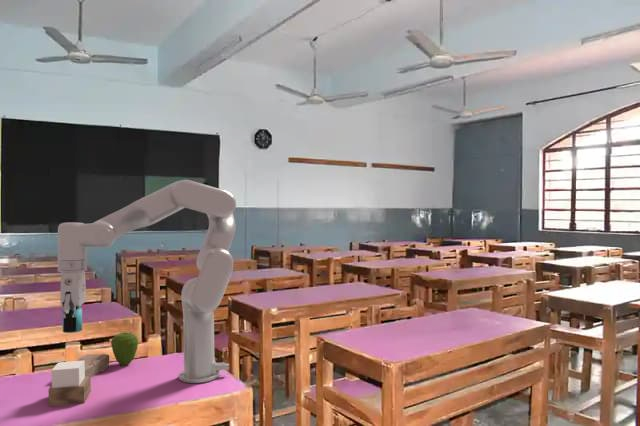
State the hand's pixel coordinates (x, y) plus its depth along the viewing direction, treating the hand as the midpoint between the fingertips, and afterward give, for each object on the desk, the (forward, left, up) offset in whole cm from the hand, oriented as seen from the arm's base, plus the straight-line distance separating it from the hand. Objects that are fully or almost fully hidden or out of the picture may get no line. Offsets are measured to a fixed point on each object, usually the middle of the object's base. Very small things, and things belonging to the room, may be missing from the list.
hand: (72, 328), depth 144 cm
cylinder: (0, 0, -1) cm, 1 cm away
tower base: (+1, 0, -20) cm, 20 cm away
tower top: (+1, 0, -15) cm, 15 cm away
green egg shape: (-10, -28, -20) cm, 36 cm away
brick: (+1, -21, -21) cm, 29 cm away
